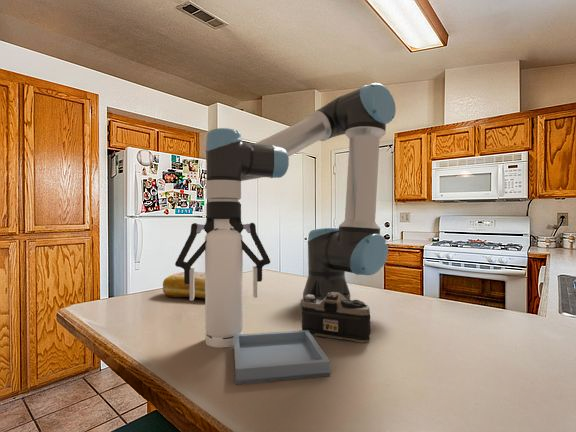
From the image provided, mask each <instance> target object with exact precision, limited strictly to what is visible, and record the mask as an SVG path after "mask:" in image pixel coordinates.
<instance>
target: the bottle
mask: <svg viewBox="0 0 576 432" xmlns="http://www.w3.org/2000/svg"><path fill="white" fill-rule="evenodd" d="M216 228H217V229H218V230H215V229H216ZM230 228H232V229H233V230H230ZM214 230H215V231H214ZM214 230H212V231H210V232H209V233H206V234H205V236H204V242H205V241H206V240H207V242H206V249H205V251H204V259H205V260H204V268H205V269H204V271H205V298H204V299H205V303H204V304H205V308H204V309H205V315H204V317H205V344H206V345H207V346H208V347H211V348H230V347H234V335H238V334H244V332H243V328H244V325H243V324H244V319H243V318H244V317H243V316H244V311H243V309H244V307H243V305H244V303H243V301H244V300H243V298H244V297H243V294H244V293H243V289H244V284H243V283H244V282H243V278H244V277H243V271H244V270H243V269H244V268H243V264H244V263H243V262H244V261H243V252H244V250H243V249H242V243H241V240H242V241H243V235H242V232H241V233H239V232H238V231H236V230H234V227H232V226H231V225H230V223H229V219H214Z"/></svg>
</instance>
